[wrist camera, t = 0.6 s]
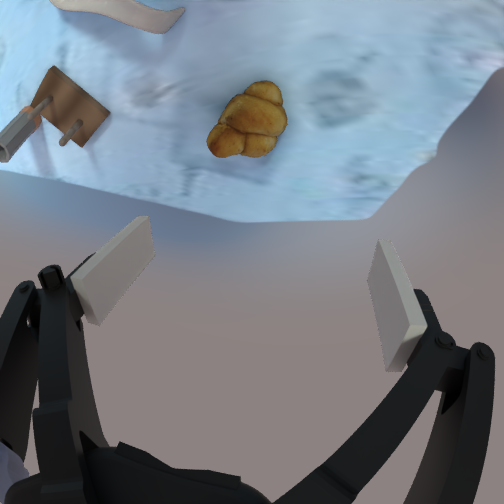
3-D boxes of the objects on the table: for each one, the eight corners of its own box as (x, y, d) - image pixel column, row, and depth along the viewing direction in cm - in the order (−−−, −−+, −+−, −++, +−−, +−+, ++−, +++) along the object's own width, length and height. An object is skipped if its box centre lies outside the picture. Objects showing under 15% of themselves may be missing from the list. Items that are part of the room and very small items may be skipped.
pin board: (34, 101, 36) (9, 126, 32) (54, 65, 31) (24, 87, 26) (85, 143, 46) (65, 171, 41) (110, 112, 40) (88, 139, 36)
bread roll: (252, 65, 34) (246, 85, 29) (307, 100, 38) (311, 126, 33) (208, 125, 43) (198, 154, 39) (258, 152, 47) (255, 183, 43)
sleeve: (20, 118, 39) (-12, 152, 32) (27, 101, 36) (-7, 135, 30) (36, 131, 42) (6, 167, 36) (44, 115, 39) (11, 151, 33)
